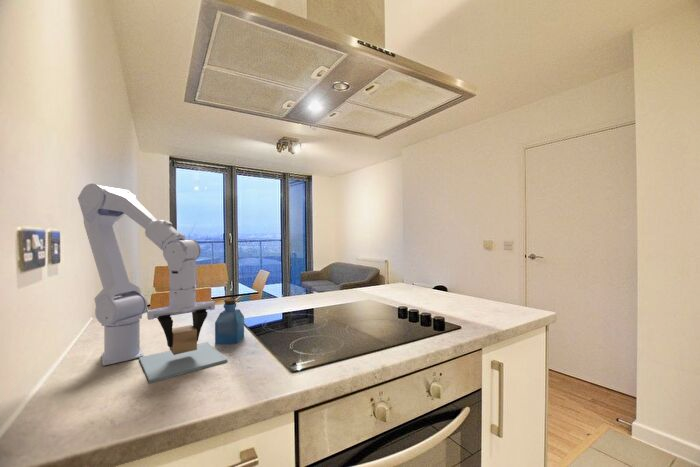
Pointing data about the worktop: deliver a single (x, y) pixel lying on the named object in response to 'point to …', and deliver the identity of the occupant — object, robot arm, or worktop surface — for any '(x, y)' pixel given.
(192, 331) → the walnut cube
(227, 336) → the perfume bottle
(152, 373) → the slate board
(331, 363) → the worktop surface
